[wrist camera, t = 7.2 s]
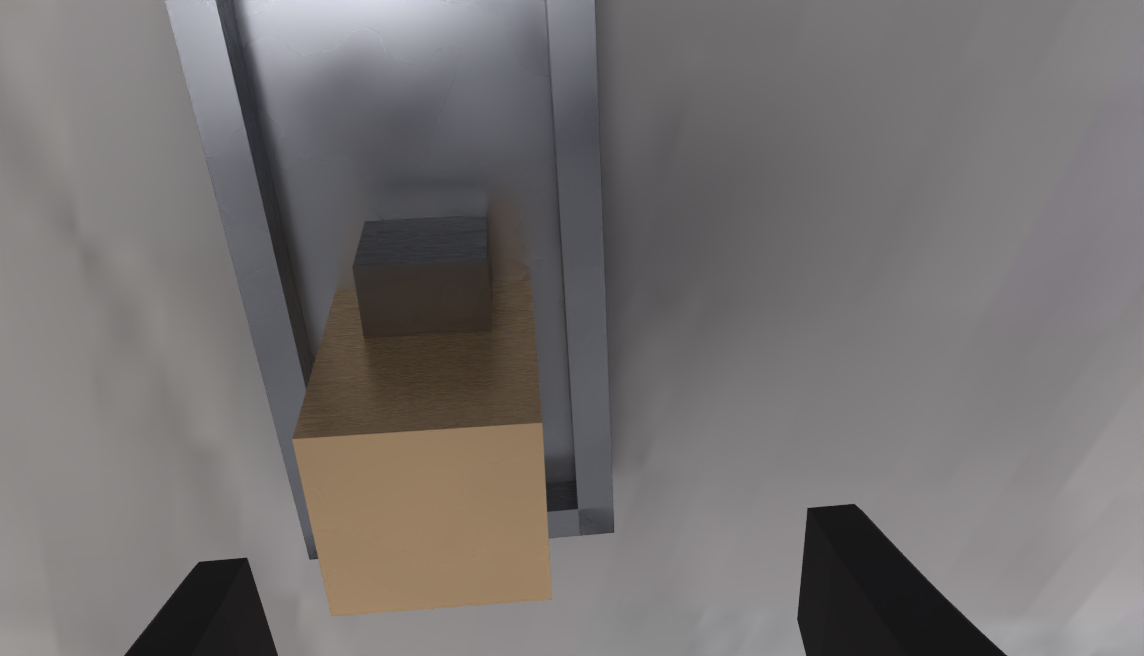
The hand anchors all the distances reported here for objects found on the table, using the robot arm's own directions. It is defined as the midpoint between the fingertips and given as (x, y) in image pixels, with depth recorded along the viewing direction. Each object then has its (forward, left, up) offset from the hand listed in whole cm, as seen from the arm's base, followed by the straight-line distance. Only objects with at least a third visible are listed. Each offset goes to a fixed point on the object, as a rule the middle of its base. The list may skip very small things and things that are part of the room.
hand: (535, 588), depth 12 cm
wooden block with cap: (+2, +2, -9) cm, 9 cm away
